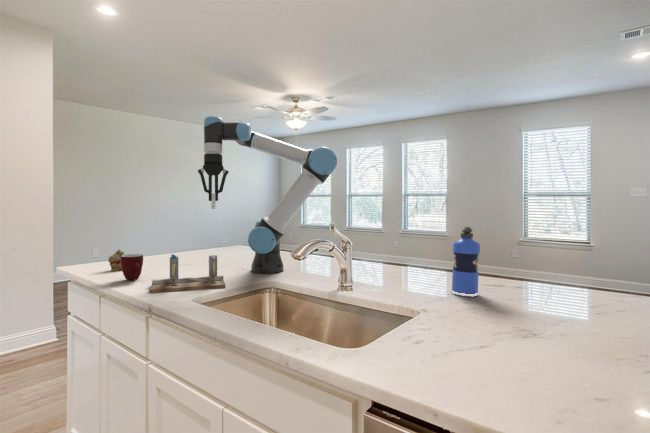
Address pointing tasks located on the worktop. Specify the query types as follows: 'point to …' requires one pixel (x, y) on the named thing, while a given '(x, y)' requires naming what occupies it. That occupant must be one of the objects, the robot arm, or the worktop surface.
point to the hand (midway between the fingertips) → (213, 208)
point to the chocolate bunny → (116, 260)
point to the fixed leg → (213, 266)
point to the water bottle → (465, 263)
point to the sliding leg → (173, 267)
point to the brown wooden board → (187, 284)
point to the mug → (132, 266)
